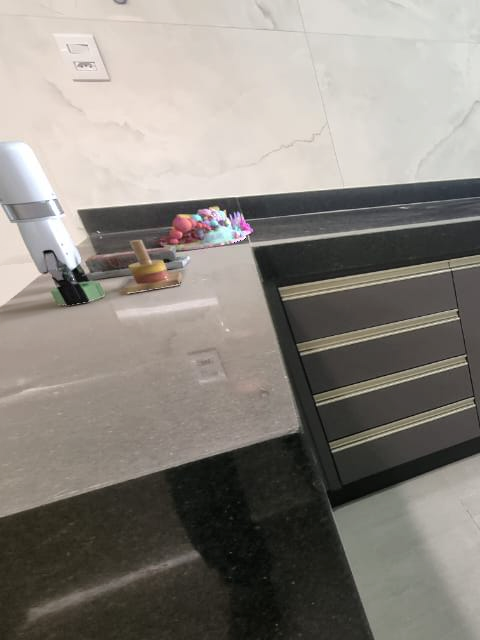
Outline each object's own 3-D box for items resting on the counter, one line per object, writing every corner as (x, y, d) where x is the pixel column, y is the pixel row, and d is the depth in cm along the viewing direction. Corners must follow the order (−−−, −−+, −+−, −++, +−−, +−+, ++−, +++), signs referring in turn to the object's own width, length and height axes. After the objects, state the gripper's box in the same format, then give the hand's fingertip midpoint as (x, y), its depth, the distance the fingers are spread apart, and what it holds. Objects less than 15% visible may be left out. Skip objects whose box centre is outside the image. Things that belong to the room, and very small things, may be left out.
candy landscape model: (147, 244, 158) (133, 213, 154) (236, 229, 175) (225, 200, 171) (177, 253, 145) (163, 219, 141) (270, 236, 162) (259, 205, 158)
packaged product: (78, 261, 120) (91, 252, 128) (88, 281, 122) (101, 272, 130) (176, 248, 128) (183, 241, 136) (185, 267, 130) (191, 259, 138)
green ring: (55, 308, 104) (47, 294, 103) (63, 299, 110) (55, 286, 108) (102, 300, 108) (95, 286, 107) (107, 292, 113) (100, 279, 112)
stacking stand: (126, 295, 111) (103, 247, 106) (132, 285, 117) (110, 240, 113) (180, 286, 115) (160, 240, 111) (182, 277, 122) (164, 233, 118)
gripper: (20, 209, 105) (66, 293, 113) (-8, 220, 93) (46, 315, 100) (71, 203, 109) (112, 286, 117) (51, 214, 96) (99, 305, 104)
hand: (81, 298), depth 109 cm, fingers closed on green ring, 7 cm apart
